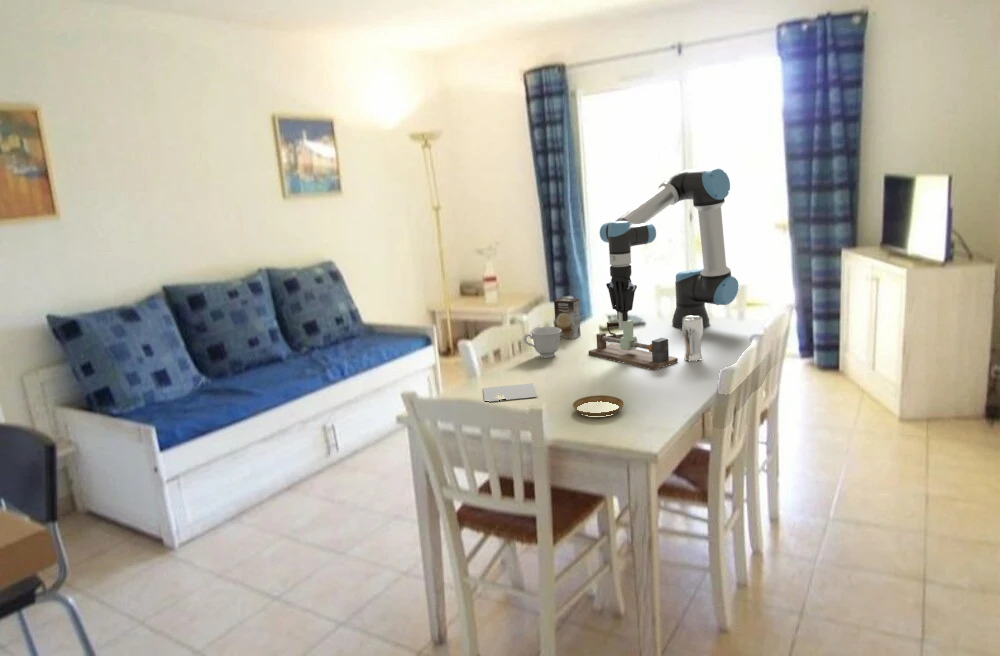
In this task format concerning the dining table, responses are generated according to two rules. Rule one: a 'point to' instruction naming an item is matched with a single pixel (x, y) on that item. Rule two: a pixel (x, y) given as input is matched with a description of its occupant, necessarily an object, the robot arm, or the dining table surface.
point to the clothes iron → (614, 333)
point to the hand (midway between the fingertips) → (623, 329)
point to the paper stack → (510, 392)
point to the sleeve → (627, 336)
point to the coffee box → (567, 317)
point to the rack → (635, 352)
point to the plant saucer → (598, 398)
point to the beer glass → (692, 337)
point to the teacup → (545, 340)
